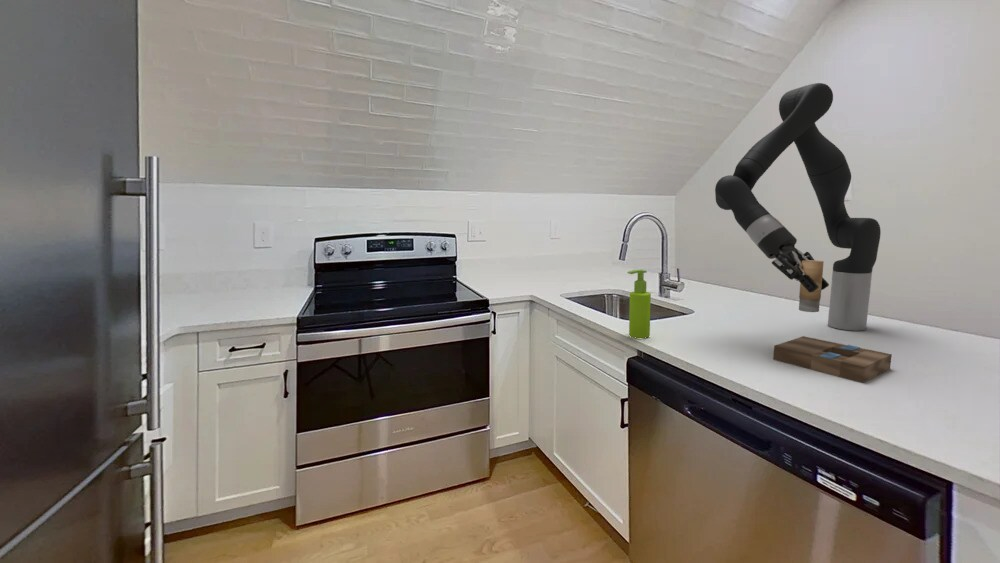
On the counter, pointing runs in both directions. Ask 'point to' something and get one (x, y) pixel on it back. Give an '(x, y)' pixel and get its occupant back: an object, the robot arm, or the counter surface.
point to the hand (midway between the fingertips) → (819, 288)
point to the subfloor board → (833, 358)
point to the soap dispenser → (639, 307)
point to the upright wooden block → (812, 299)
